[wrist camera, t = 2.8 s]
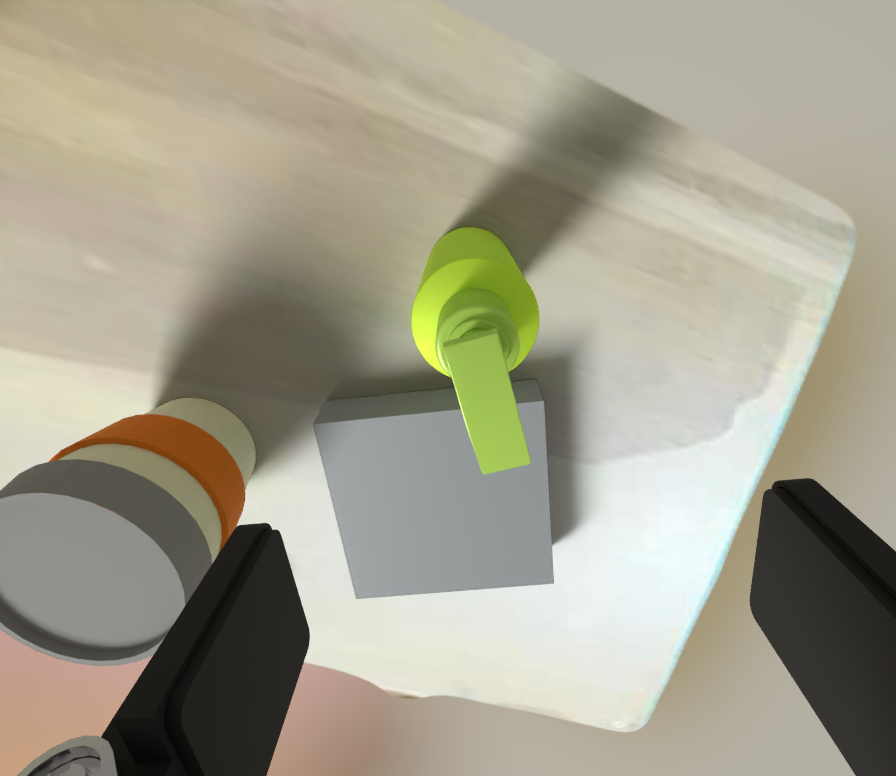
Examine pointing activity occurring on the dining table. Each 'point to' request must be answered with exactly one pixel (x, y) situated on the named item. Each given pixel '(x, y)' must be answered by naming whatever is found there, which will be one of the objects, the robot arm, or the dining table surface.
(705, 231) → the dining table surface
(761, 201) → the dining table surface
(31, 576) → the reusable coffee cup
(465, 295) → the soap dispenser
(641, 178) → the dining table surface
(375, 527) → the stand
